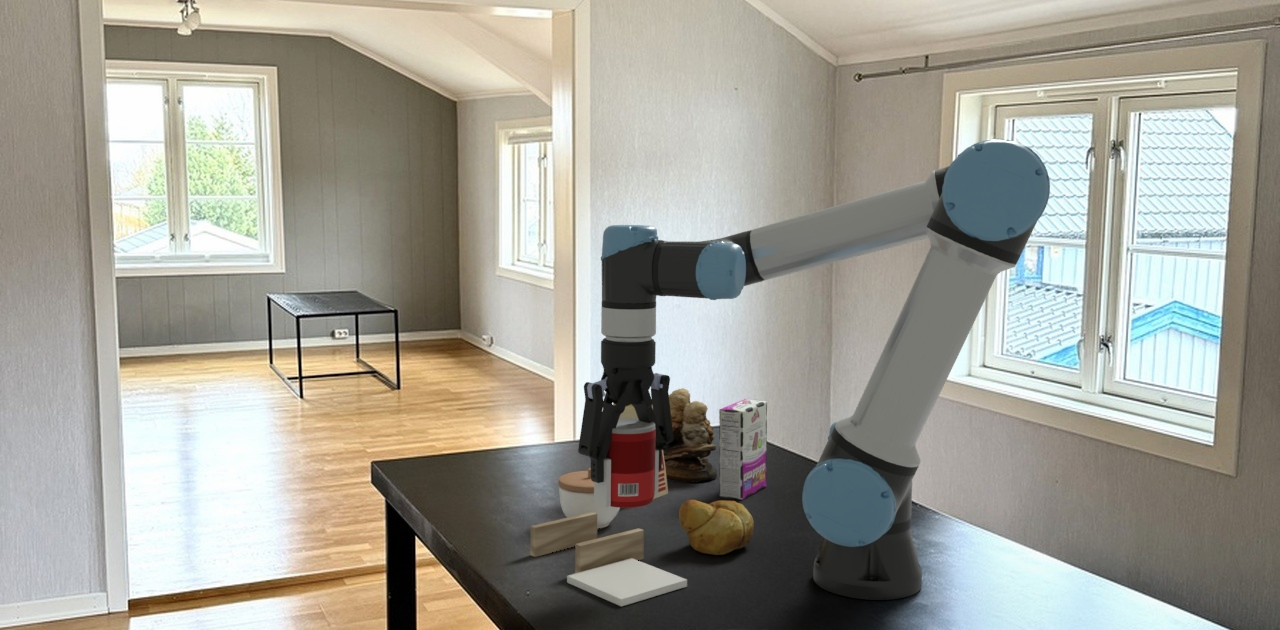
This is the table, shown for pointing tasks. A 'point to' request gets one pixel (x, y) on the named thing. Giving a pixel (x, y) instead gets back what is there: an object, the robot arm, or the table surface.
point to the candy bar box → (743, 448)
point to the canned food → (632, 463)
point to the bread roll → (716, 525)
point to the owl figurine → (689, 440)
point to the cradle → (586, 542)
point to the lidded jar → (582, 498)
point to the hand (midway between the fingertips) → (626, 498)
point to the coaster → (626, 581)
